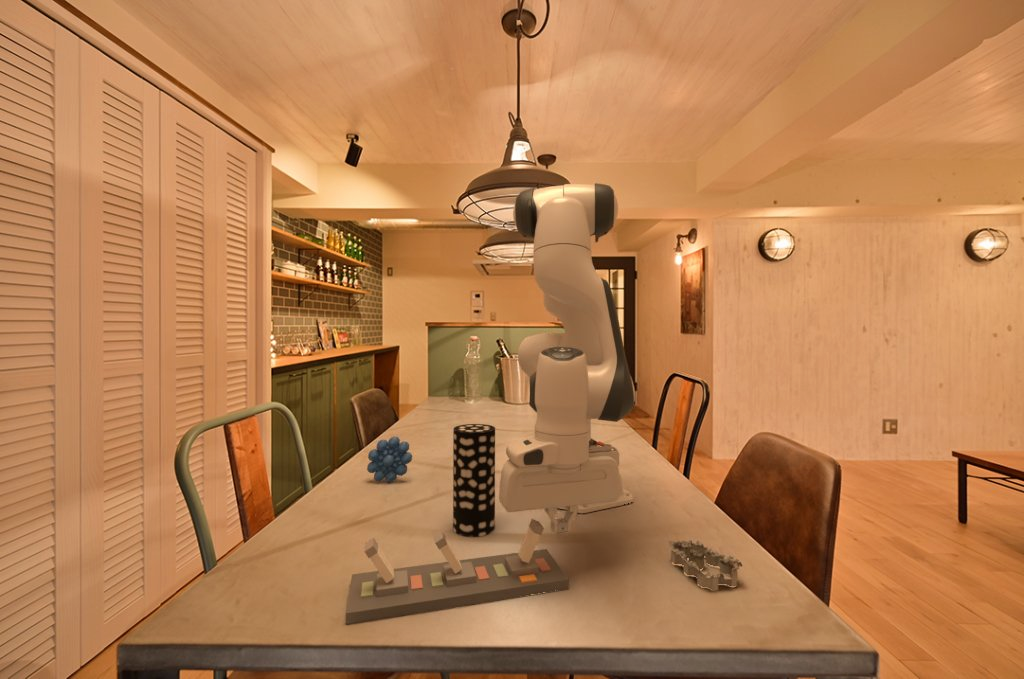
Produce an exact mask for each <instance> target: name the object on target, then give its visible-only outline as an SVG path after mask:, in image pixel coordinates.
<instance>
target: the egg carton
mask: <svg viewBox="0 0 1024 679" xmlns="http://www.w3.org/2000/svg"><path fill="white" fill-rule="evenodd" d="M667 543H668V545H669V546H670V548H671V552H670V553H671V558H670V562H671V561H672V562H673V563H674V564H682V565H684V568H683V572H685V573H686V574H687V575H694V576H696V577H697V579H696V585H697V584H699V585H700V586H702V587H708V588H710V589H712V590H718V591H719V586H718V584H727V585H729V586H737V587H738V585H737V583H738V570H739V569H740V568H743V563H742V562H741V561H739V559H738V558H735V557H734V556H731V555H729V556H726V554H724V553H722V554H721V553H720V552H718V551H717V550H716V549H715V550H714V549H713V548H711V547H710V548H709V547H708V546H704V544H703V542H701V541H699V540H697V541H696V542H695V543H693V541H692V540H691V539H690V540H689V541H686V540H682V541H679V540H676V541H670V540H667ZM704 556H705V557H706V559H704ZM687 558H689V561H687ZM705 560H706V561H705ZM706 562H707V563H708V564H710V565H713V566H719V567H720V570H719V572H718V573H717V574H716V577H714V576H715V575H714V573H711V572H709V571H700V569H702V568H704V569H705V563H706Z"/></svg>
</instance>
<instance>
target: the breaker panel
mask: <svg viewBox="0 0 1024 679" xmlns="http://www.w3.org/2000/svg"><path fill="white" fill-rule="evenodd" d="M459 561H460V564H461V567H462V569H461V570H460V571H459V572H457V573H456V574H455V573H454V571H453V569H452V568H451V566H450V565H449V563H448V561H444V562H443V561H442V562H438V563H437V562H434V563H429V564H419V565H414V566H412V565H411V566H406V567H398V568H393V569H394V579H392V580H391V581H389V582H388V583H386V582H385V580H384V579H383V577H382V576H381V574H380V573H379V571H378V570H375V571H367V572H361V573H360V572H359V573H352V574H351V579H350V586H349V591H348V598H347V599H348V600H347V606H346V611H345V612H346V613H345V625H350V624H357V623H363V622H369V621H370V622H371V621H376V620H382V619H388V618H389V619H390V618H395V617H401V616H409V615H414V614H421V613H427V612H433V611H439V610H440V611H441V610H446V609H447V610H448V609H452V608H458V607H465V606H471V605H478V604H483V603H484V604H485V603H490V601H491V602H496V601H503V600H509V598H510V599H516V598H515V597H517V598H521V597H520V596H523V597H527V596H526V595H529V596H532V595H531V594H536V595H539V594H538V593H542V594H544V593H543V592H548V593H552V592H551V591H555V590H556V591H555V592H558V591H557V590H561V591H566V589H567V590H569V588H570V584H569V583H570V580H569V578H568V577H567V576H568V575H566V574H565V572H564V571H563V569H562V568H561V566H560V565H559V564H558V562H557V561H556V559H554V557H553V555H551V553H550V551H549V550H548V549H547V548H542V549H537V550H536V549H534V552H533V554H532V557H531V559H530V562H529V563H527V562H524V561H522V560H521V558H520V556H519V555H518V552H512V553H505V554H498V555H497V554H496V555H490V556H489V555H488V556H484V557H483V556H481V557H474V558H467V559H459ZM564 589H565V590H564Z"/></svg>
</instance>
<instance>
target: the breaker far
mask: <svg viewBox="0 0 1024 679" xmlns="http://www.w3.org/2000/svg"><path fill="white" fill-rule="evenodd" d="M363 552H364V553H365V554H366V556H367V558H368V559H370V560H371V562H372V563H373V565H374V566H375V568H376V569H377V570H376V571H379V573H380V574H381V576H382V577H383V579H384V580H385V582H386V583H388V582H389V581H391V580H392V579H394V569H395V568H393V566H392V565H391V564H390V561H389V560H388V559H387V557H386V556H385V554H384V553H383V551H382V550H381V548H380V546H379V543H378V541H377V540H376V539H375V537H373V538H371V539H370V540H368V541H366V542H365V544H364V550H363Z"/></svg>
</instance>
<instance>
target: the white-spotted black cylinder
mask: <svg viewBox="0 0 1024 679" xmlns="http://www.w3.org/2000/svg"><path fill="white" fill-rule="evenodd" d="M452 436H453V439H452V440H453V446H452V448H453V449H452V450H453V452H452V454H453V455H452V457H453V458H452V459H453V465H452V466H453V467H452V468H453V470H452V474H453V475H452V476H453V477H452V480H453V482H452V483H453V484H452V486H453V487H452V488H453V489H452V490H453V491H452V497H453V498H452V502H453V504H452V509H453V510H452V514H453V515H452V523H453V524H452V529H453V532H454V533H456V534H457V535H458V536H463V537H469V538H472V537H473V538H475V537H483V536H486V535H489V534H491V533H492V532H493V531H494V530H495V529H496V528H495V527H496V519H495V518H496V427H495V425H490V424H485V423H484V424H482V423H469V424H468V423H466V424H461V425H460V424H459V425H456V426H454V427H453V434H452Z"/></svg>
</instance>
